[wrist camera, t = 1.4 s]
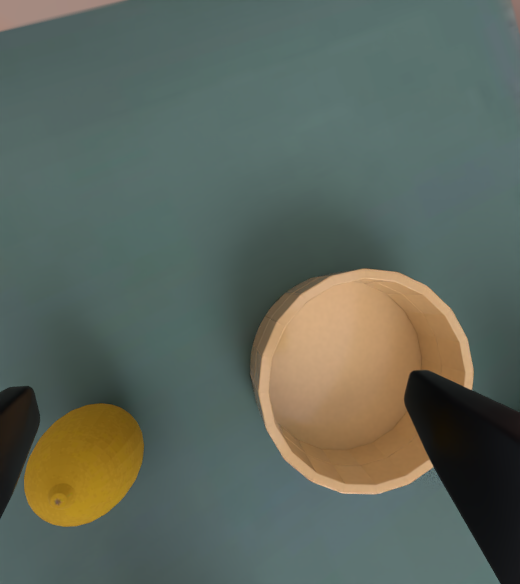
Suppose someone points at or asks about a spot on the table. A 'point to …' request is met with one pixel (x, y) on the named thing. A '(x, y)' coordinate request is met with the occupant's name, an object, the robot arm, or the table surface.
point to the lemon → (84, 465)
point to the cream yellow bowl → (353, 375)
